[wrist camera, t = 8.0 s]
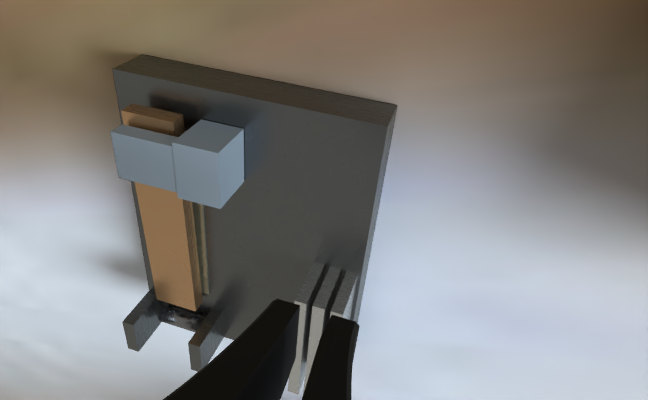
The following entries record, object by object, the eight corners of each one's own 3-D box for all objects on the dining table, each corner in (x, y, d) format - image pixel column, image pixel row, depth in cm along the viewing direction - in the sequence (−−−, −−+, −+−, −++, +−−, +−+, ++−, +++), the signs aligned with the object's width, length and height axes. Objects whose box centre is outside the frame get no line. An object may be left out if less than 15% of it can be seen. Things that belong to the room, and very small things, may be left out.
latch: (243, 181, 20) (220, 209, 18) (149, 158, 21) (118, 182, 19) (243, 128, 19) (218, 153, 17) (142, 106, 19) (108, 127, 18)
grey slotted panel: (353, 344, 26) (329, 417, 23) (172, 290, 28) (125, 349, 25) (397, 105, 18) (372, 159, 15) (142, 54, 21) (66, 91, 17)
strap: (207, 325, 26) (200, 336, 25) (167, 312, 26) (159, 324, 26) (186, 114, 18) (174, 123, 18) (130, 102, 19) (117, 110, 18)
